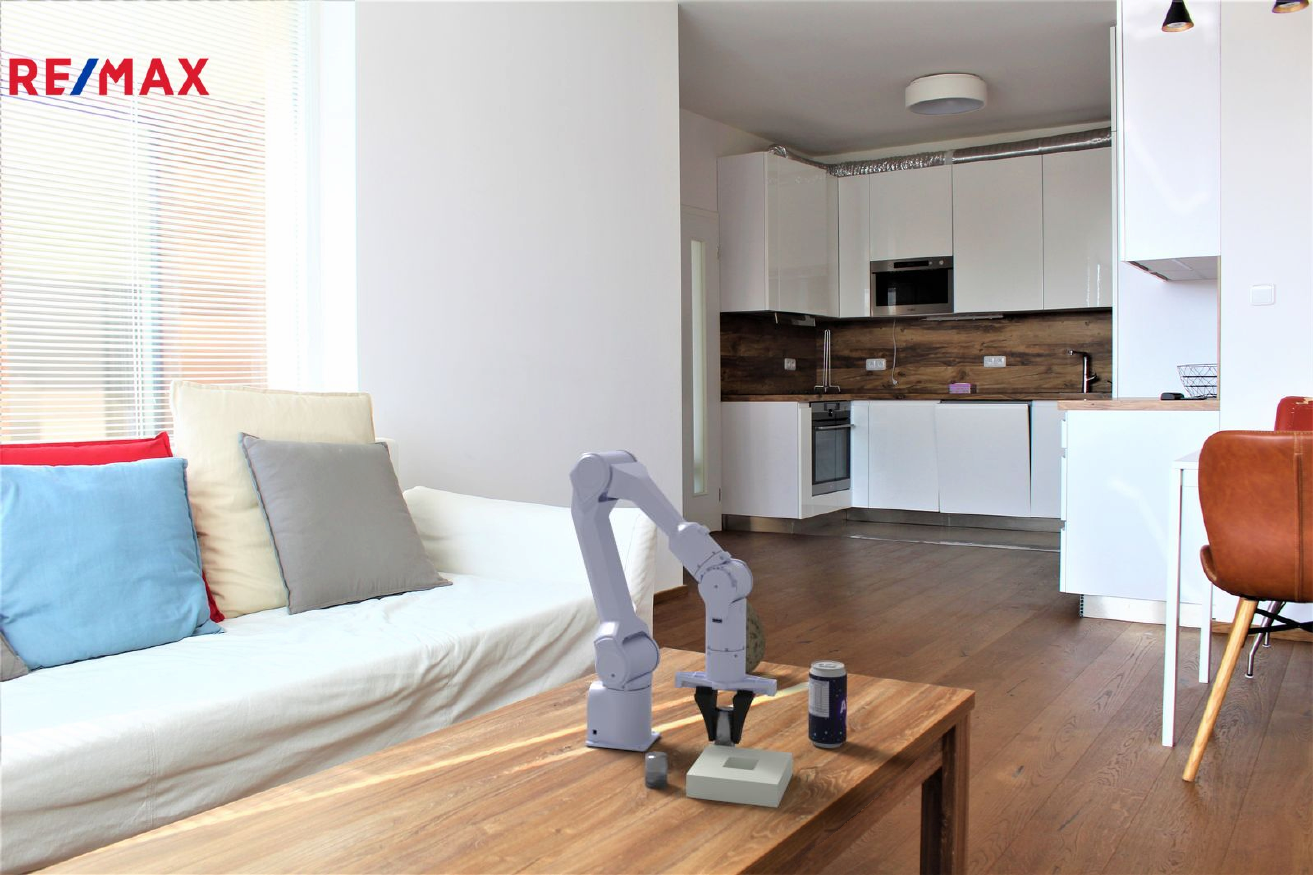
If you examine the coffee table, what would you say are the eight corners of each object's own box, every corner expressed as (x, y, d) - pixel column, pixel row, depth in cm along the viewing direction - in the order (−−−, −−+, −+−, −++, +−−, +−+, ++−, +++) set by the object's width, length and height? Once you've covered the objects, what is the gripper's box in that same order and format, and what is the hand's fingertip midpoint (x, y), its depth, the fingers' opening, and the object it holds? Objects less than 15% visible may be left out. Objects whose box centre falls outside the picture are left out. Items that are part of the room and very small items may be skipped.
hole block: (686, 796, 135) (686, 774, 135) (708, 765, 146) (708, 744, 146) (777, 807, 131) (777, 784, 131) (792, 774, 143) (792, 752, 143)
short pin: (642, 787, 138) (642, 758, 138) (648, 779, 141) (648, 750, 141) (663, 790, 137) (663, 760, 137) (670, 781, 140) (670, 752, 140)
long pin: (711, 759, 147) (712, 711, 146) (716, 752, 149) (717, 705, 149) (732, 762, 146) (733, 713, 145) (737, 755, 149) (737, 707, 148)
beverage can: (846, 751, 152) (846, 670, 151) (807, 748, 153) (807, 668, 153) (846, 738, 158) (847, 660, 157) (809, 736, 159) (809, 658, 158)
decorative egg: (715, 666, 199) (715, 589, 198) (770, 671, 195) (771, 592, 195) (700, 681, 189) (700, 599, 188) (757, 686, 185) (758, 603, 184)
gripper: (668, 649, 145) (668, 744, 146) (770, 657, 141) (769, 755, 142) (682, 637, 152) (681, 728, 152) (779, 645, 148) (778, 738, 148)
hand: (724, 740), depth 147 cm, fingers closed on long pin, 3 cm apart
